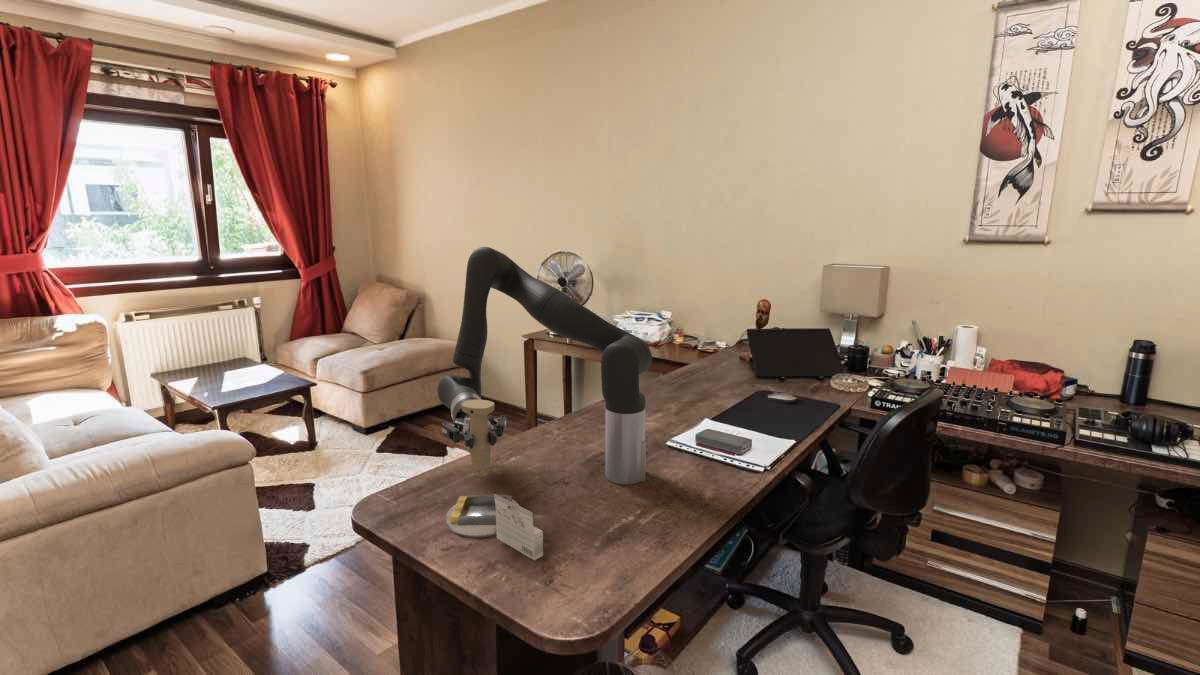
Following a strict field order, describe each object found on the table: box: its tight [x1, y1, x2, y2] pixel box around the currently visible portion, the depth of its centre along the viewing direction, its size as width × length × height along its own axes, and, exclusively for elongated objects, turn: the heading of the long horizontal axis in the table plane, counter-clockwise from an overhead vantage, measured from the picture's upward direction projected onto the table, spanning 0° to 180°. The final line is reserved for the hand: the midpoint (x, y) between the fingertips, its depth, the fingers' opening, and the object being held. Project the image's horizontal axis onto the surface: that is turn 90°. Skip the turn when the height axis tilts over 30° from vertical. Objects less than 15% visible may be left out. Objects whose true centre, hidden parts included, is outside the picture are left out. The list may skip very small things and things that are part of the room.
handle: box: [462, 399, 495, 478], centre depth 115 cm, size 5×6×15 cm
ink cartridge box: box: [493, 493, 544, 561], centre depth 107 cm, size 2×11×10 cm, turn 48°
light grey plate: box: [445, 494, 520, 538], centre depth 119 cm, size 15×15×2 cm
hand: (482, 442), depth 112 cm, fingers closed on handle, 3 cm apart
